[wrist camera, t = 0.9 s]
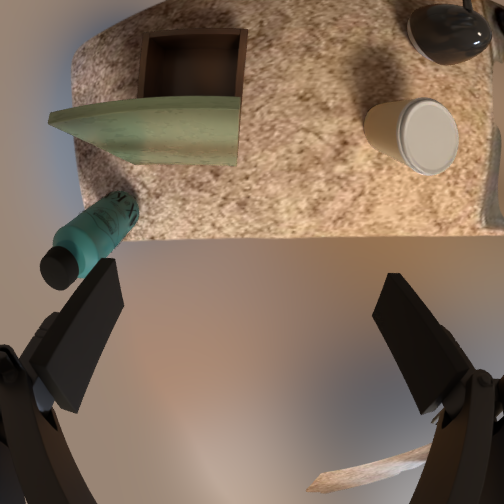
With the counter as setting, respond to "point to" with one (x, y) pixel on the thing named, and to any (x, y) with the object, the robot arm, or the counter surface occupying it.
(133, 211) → the beverage bottle
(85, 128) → the lid
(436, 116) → the coffee cup
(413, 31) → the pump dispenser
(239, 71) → the brown wooden box
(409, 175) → the counter surface
